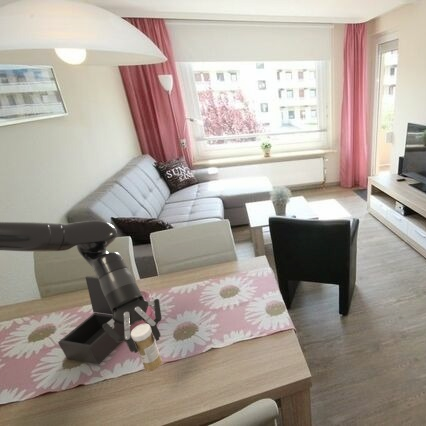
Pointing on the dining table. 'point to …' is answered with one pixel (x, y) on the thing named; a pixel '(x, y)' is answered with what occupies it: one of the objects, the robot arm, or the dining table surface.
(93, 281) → the box lid
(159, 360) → the sprinkles bottle
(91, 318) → the dark open box
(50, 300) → the dining table surface
